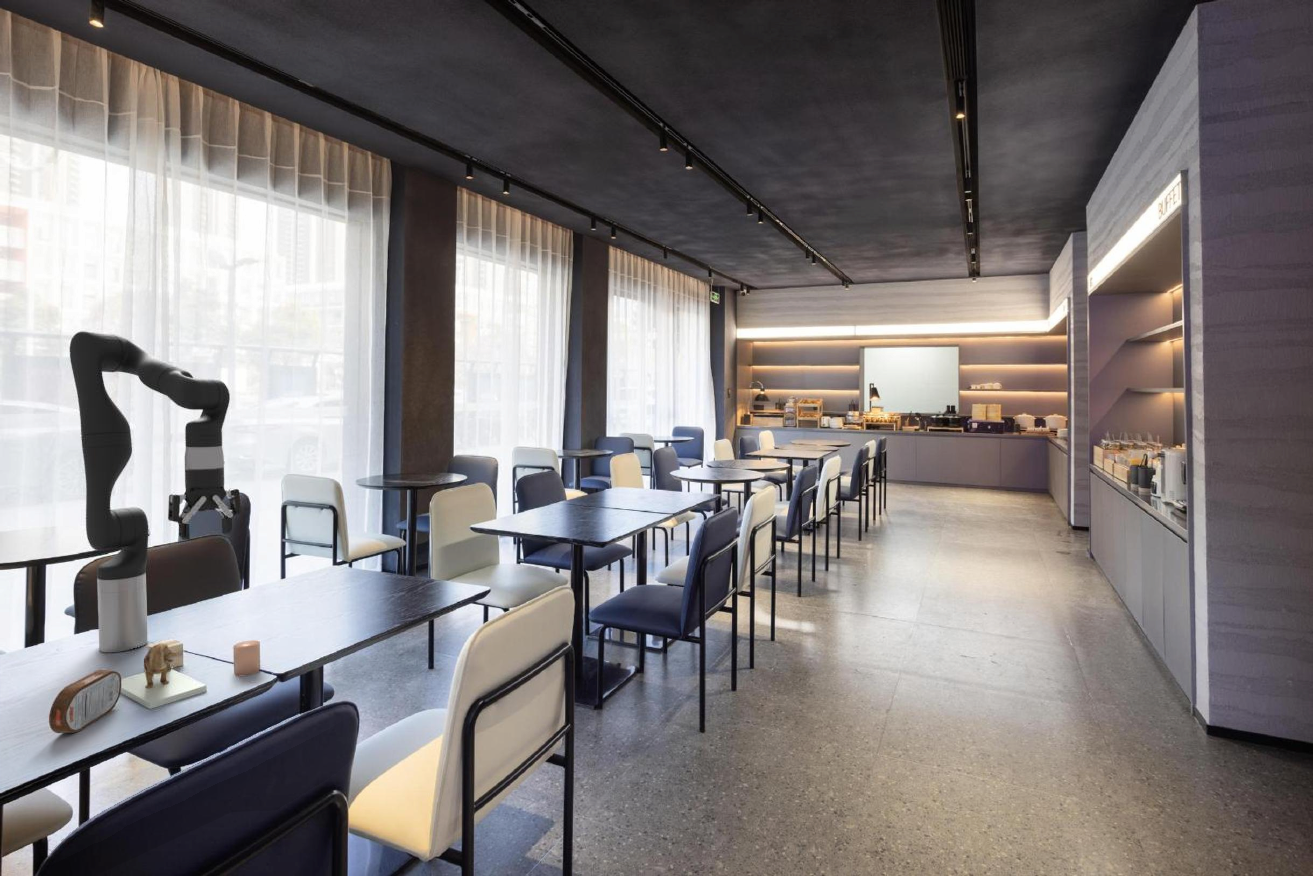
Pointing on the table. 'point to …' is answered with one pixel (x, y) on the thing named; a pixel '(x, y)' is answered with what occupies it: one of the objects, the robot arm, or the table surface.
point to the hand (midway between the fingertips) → (206, 536)
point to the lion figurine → (158, 663)
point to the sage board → (160, 688)
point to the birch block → (175, 648)
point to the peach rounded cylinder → (246, 657)
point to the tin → (85, 701)
